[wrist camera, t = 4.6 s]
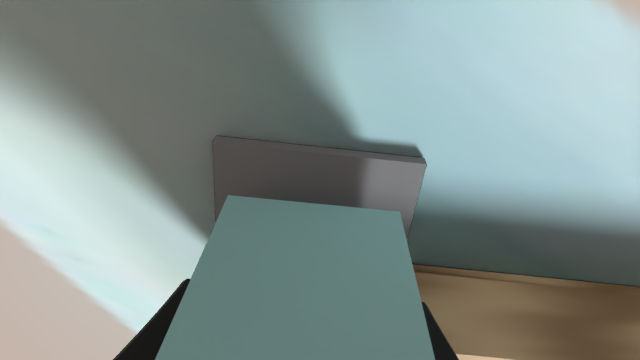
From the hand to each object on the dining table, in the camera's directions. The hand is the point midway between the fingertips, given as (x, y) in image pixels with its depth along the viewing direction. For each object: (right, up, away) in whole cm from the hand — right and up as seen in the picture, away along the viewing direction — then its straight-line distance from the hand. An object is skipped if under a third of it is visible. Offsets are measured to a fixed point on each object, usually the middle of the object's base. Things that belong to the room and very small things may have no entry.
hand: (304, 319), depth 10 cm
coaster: (0, +2, +3) cm, 4 cm away
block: (0, +1, +2) cm, 2 cm away
